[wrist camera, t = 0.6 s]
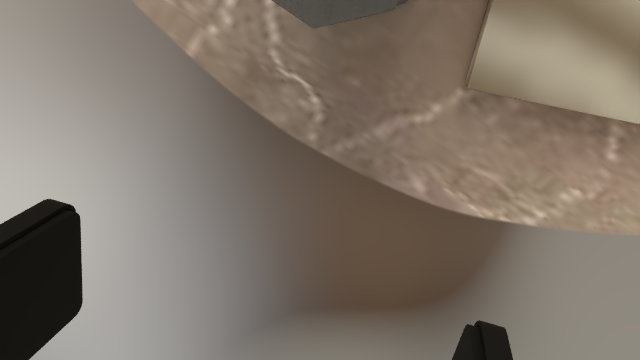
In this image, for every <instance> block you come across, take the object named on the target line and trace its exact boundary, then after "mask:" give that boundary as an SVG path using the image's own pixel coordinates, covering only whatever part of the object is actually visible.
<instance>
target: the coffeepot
mask: <svg viewBox="0 0 640 360" xmlns="http://www.w3.org/2000/svg"><path fill="white" fill-rule="evenodd" d="M272 1H274V2H275V3H277V4H278V5H280V6H281V7H283V8H284V9H285V10H287V11H288V12H290V13H291V14H293V15H294V16H296V17H297V18H299V19H300V20H302V21H303V22H305V23H306V24H307V25H309V26H310V27H312V28H318V27H322V26H326V25H331V24H336V23H340V22H344V21H349V20H353V19H357V18H362V17H366V16H370V15H374V14H378V13H382V12H386V11H390V10H393V9H394V8H395V6H396V5H399V4H403V3H406V1H407V0H272Z"/></svg>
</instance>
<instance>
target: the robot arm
mask: <svg viewBox="0 0 640 360" xmlns="http://www.w3.org/2000/svg"><path fill="white" fill-rule="evenodd" d="M81 306H82V264H81V227H80V216H79V214H78V213H76V210H75V208H74V207H73V206H72V205H70V204H66V203H63V202H59V201H56V200H52V199H47V200H43V201H42V202H40V203H38V204H36V205H35V206H33V207H31V208H29V209H27V210H25V211H24V212H22V213H20V214H18V215H16V216H14V217H13V218H11V219H9V220H7V221H5V222H4V223H2V224H0V360H29V359H30V358H31V357H32V356H33V355H34V354H35V353H36V352H37V351H39V350H40V349H41V348H42V347H43V346H44V345H45V344H46V343H47V342H48V341H49V340H51V339H52V338H53V337H54V336H55V335H56V334H57V333H58V332H59V331H60V330H61V329H62V328H63V327H64V326H66V324H68V323H69V322H70V321H71V320H72V319H73V318H74V317H75V316H76V315H77V314H78V312H79V310H80V308H81ZM452 360H513V358H512V353H511V349H510V344H509V340H508V336H507V332H506V329H505V328H504V327H500V326H497V325H494V324H490V323H486V322H483V321H477V322H476V323H475V325H474V326H472V325H469V324H467V325H466V326H465V328H464V331H463V333H462V336H461V338H460V341H459V343H458V346H457V348H456V351H455V353H454V356H453V358H452Z"/></svg>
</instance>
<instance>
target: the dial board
mask: <svg viewBox="0 0 640 360" xmlns="http://www.w3.org/2000/svg"><path fill="white" fill-rule="evenodd" d="M465 85H466V87H467V89H472V90H477V91H482V92H486V93H491V94H496V95H501V96H506V97H511V98H516V99H520V100H525V101H530V102H535V103H540V104H545V105H549V106H554V107H559V108H564V109H569V110H574V111H579V112H583V113H588V114H593V115H598V116H603V117H608V118H612V119H617V120H622V121H627V122H632V123H637V124H640V0H489V3H488V6H487V9H486V13H485V16H484V20H483V23H482V27H481V30H480V33H479V37H478V40H477V44H476V47H475V51H474V54H473V58H472V61H471V64H470V68H469V71H468V75H467V78H466V82H465Z"/></svg>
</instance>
